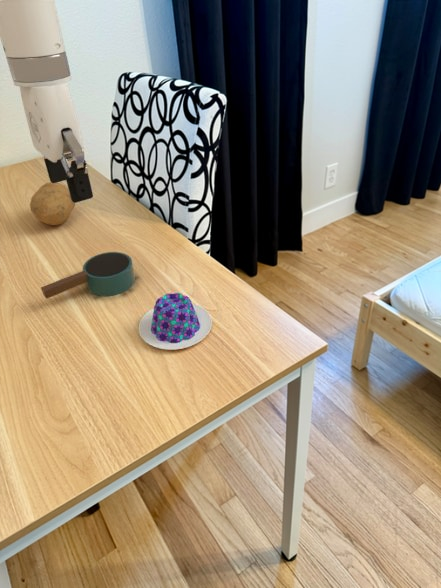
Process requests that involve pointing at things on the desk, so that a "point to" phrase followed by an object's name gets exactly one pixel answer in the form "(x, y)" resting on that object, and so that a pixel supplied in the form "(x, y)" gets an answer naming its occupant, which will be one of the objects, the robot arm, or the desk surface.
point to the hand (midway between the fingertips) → (71, 189)
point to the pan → (98, 276)
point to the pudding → (174, 323)
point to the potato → (52, 203)
